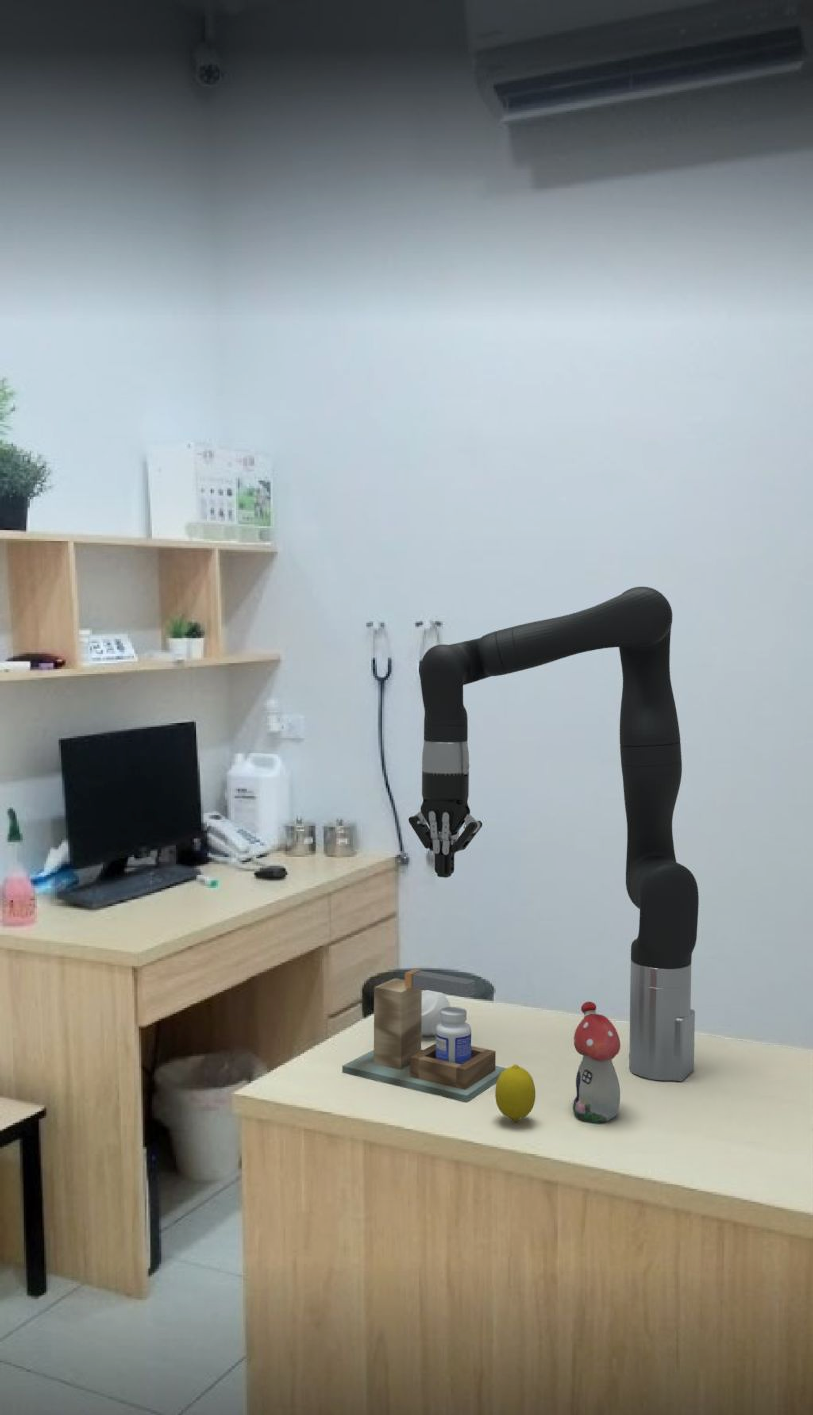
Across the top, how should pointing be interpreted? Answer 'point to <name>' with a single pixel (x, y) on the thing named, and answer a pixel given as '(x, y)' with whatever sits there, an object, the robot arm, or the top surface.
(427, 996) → the white rounded piece
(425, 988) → the bar
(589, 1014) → the decorative ornament
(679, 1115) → the top surface
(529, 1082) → the lemon
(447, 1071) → the socket board
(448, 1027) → the pill bottle
